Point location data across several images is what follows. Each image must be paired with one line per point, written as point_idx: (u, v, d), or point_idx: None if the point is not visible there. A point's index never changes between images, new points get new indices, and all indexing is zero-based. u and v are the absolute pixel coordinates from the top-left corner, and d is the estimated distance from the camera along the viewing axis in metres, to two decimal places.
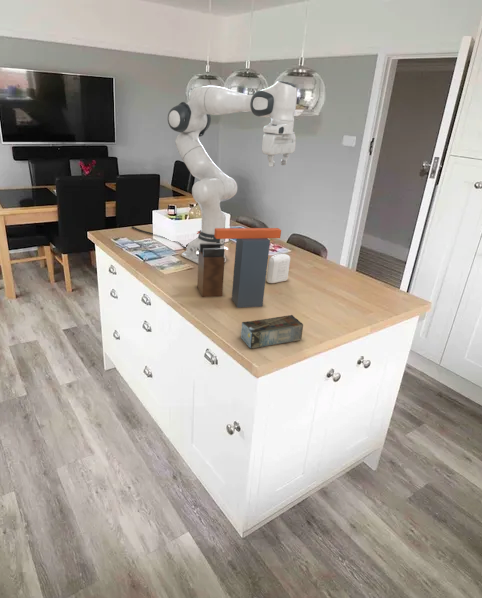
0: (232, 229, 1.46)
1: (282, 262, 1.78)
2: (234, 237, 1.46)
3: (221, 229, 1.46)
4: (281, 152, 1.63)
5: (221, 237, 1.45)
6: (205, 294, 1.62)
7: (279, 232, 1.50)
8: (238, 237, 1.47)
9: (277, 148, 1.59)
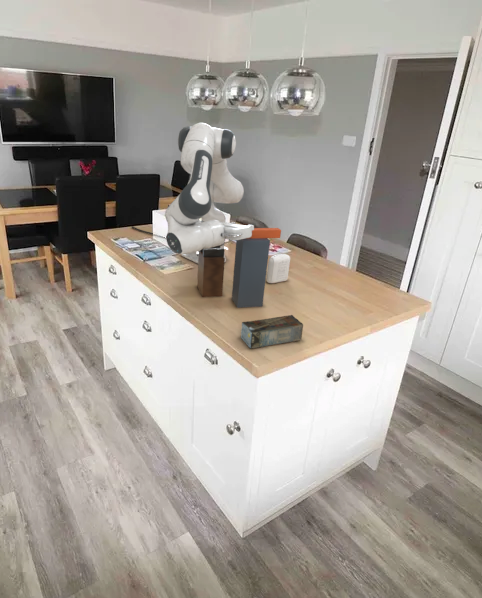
0: None
1: (282, 262, 1.78)
2: None
3: None
4: None
5: None
6: (205, 294, 1.62)
7: (279, 232, 1.50)
8: None
9: None
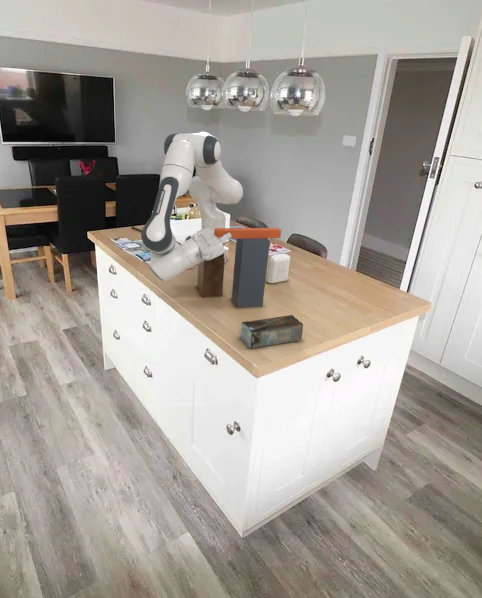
0: (232, 229, 1.46)
1: (282, 262, 1.78)
2: (234, 237, 1.46)
3: (221, 229, 1.46)
4: None
5: None
6: (205, 294, 1.62)
7: (279, 232, 1.50)
8: (238, 237, 1.47)
9: None
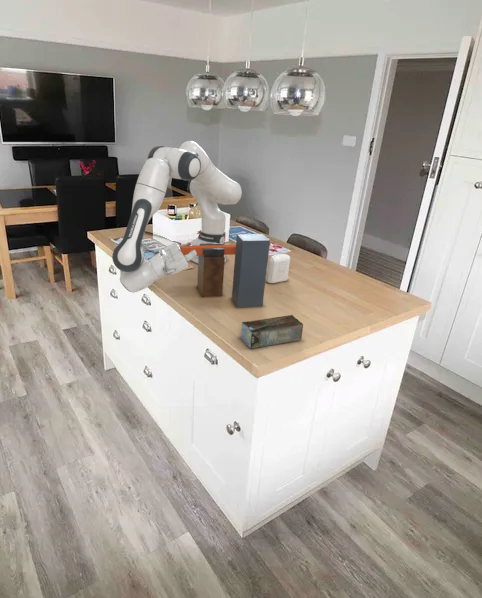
0: (196, 246, 1.58)
1: (282, 262, 1.78)
2: (198, 254, 1.58)
3: (186, 246, 1.58)
4: None
5: (186, 254, 1.57)
6: (205, 294, 1.62)
7: None
8: (202, 254, 1.59)
9: None
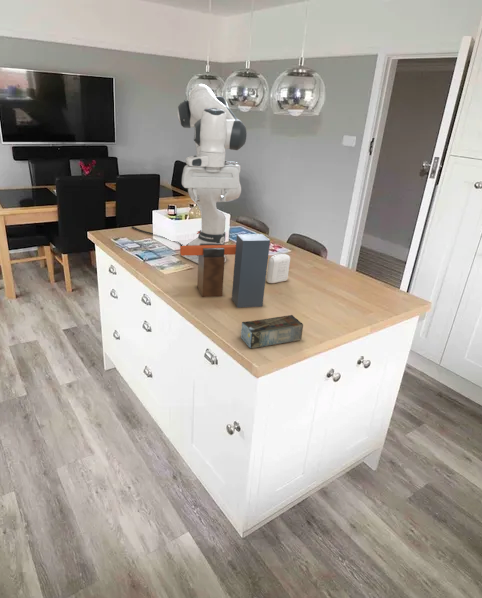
0: (196, 246, 1.58)
1: (282, 262, 1.78)
2: (198, 254, 1.58)
3: (186, 246, 1.58)
4: (209, 186, 1.44)
5: (186, 254, 1.57)
6: (205, 294, 1.62)
7: None
8: (202, 254, 1.59)
9: (198, 182, 1.42)
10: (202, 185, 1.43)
